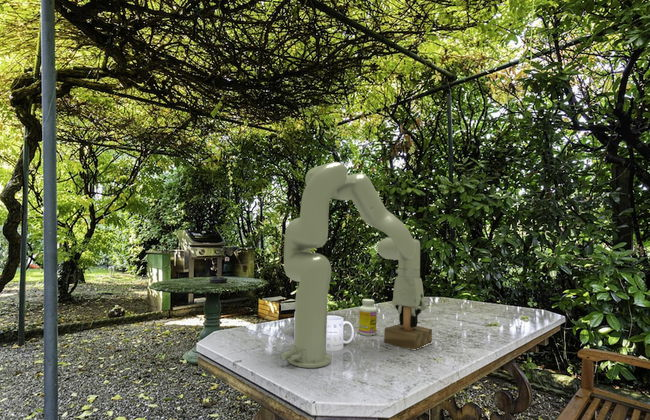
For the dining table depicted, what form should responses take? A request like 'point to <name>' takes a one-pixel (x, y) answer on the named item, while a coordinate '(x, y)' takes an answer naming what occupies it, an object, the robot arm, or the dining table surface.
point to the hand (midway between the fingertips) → (408, 325)
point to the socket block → (407, 336)
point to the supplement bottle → (367, 318)
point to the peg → (407, 318)
